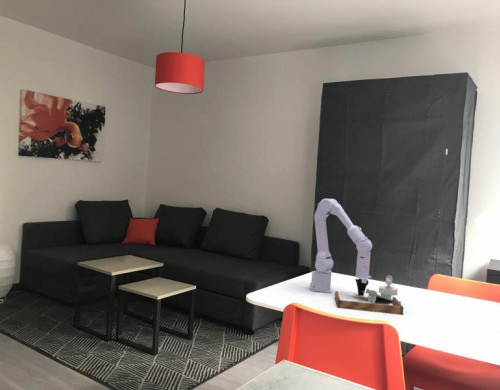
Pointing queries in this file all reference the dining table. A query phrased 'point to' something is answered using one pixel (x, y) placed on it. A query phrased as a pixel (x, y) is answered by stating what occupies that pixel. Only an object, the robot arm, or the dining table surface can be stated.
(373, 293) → the metal bracket
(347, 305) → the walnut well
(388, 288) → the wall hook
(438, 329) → the dining table surface
